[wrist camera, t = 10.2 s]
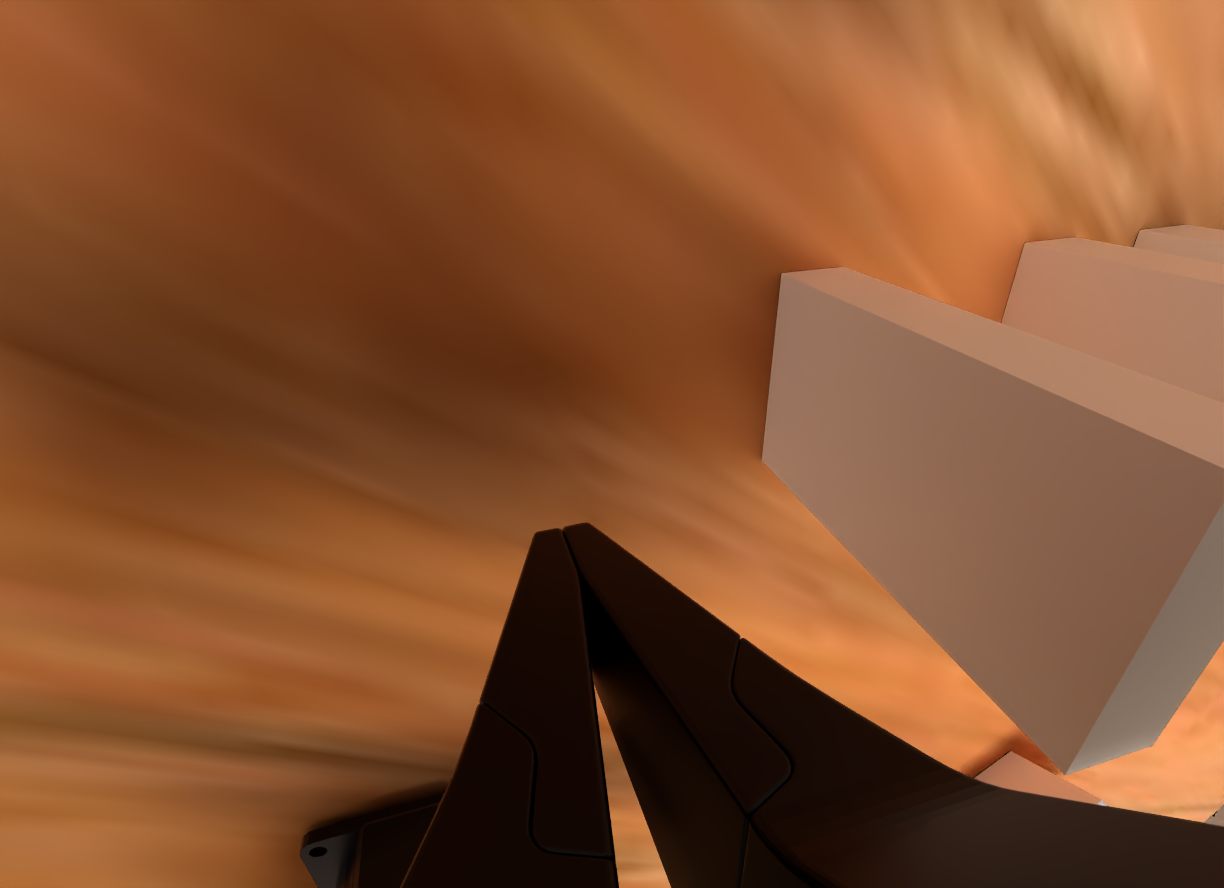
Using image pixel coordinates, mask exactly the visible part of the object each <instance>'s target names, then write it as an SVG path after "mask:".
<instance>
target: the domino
mask: <svg viewBox="0 0 1224 888" xmlns="http://www.w3.org/2000/svg"><path fill="white" fill-rule="evenodd" d="M762 462H763V463H764V464H765V465H766V466H767V467H768V468H769V469H770V470H771V471H772V472H773V473H774V474H775V475H776V476H777V477H778V478H779V479H780V480H781V481H782V482H783V484H784V485H785V486H786V487H787V488H788V489H789V490H790V491H791V492H792V493H793V494H794V495H795V496H796V497H797V498H798V499H799V500H800V501H801V502H802V503H803V504H804V505H805V506H806V507H807V508H808V509H809V510H810V512H811V513H812V514H813V515H814V516H815V517H816V518H817V519H818V520H819V521H820V522H821V523H822V524H823V525H824V526H825V527H826V528H827V529H828V530H829V531H830V532H831V533H832V534H833V535H834V536H835V537H836V538H837V540H838V541H839V542H840V543H841V544H842V545H843V546H844V547H845V548H846V549H847V550H848V551H849V552H850V553H851V554H852V555H853V556H854V557H855V558H856V559H857V560H858V561H859V562H860V563H861V564H862V565H863V567H864V568H865V569H866V570H867V571H868V572H869V573H870V574H871V575H872V576H873V577H874V578H875V579H876V580H877V581H878V582H879V583H880V584H881V585H882V586H883V587H884V588H885V589H886V590H887V591H888V592H889V593H890V595H891V596H892V597H893V598H894V599H895V600H896V601H897V602H898V603H899V604H900V605H901V606H902V607H903V608H904V609H905V610H906V611H907V612H908V613H909V614H910V615H911V616H912V617H913V618H914V619H915V620H916V621H917V623H918V624H919V625H920V626H921V627H922V628H923V629H924V630H925V631H926V632H927V633H928V634H929V635H930V636H931V637H932V638H933V639H934V640H935V641H936V642H937V643H938V644H939V645H940V646H941V647H942V648H943V649H944V651H945V652H946V653H947V654H948V655H949V656H950V657H951V658H952V659H953V660H954V661H955V662H956V663H957V664H958V665H959V666H960V667H961V668H962V669H963V670H964V671H965V672H966V673H967V674H968V675H969V676H970V677H971V679H972V680H973V681H974V682H975V683H976V684H977V685H978V686H979V687H980V688H981V689H982V690H983V691H984V692H985V693H986V694H987V695H988V696H989V697H990V698H991V699H992V700H993V701H994V702H995V703H996V704H997V706H998V707H999V708H1000V709H1001V710H1002V711H1003V712H1004V713H1005V714H1006V715H1007V716H1008V717H1009V718H1010V719H1011V720H1012V721H1013V722H1014V723H1015V724H1016V725H1017V726H1018V727H1019V728H1020V729H1021V730H1022V731H1023V732H1024V734H1025V735H1026V736H1027V737H1028V738H1029V739H1030V740H1031V741H1032V742H1033V743H1034V744H1035V745H1036V746H1037V747H1038V748H1039V749H1040V750H1041V751H1042V752H1043V753H1044V754H1045V755H1046V756H1047V757H1048V758H1049V759H1050V760H1051V762H1052V763H1053V764H1054V765H1055V766H1056V767H1057V768H1058V769H1059V770H1060V771H1061V772H1062V773H1063V774H1064V775H1067V774H1070V773H1073V772H1076V771H1079V770H1082V769H1085V768H1088V767H1091V766H1094V765H1097V764H1100V763H1103V762H1106V761H1108V760H1111V759H1114V758H1117V757H1120V756H1123V755H1126V754H1129V753H1132V752H1135V751H1138V750H1141V749H1144V748H1147V747H1150V746H1153V744H1154V743H1155V741H1156V740H1157V738H1158V737H1159V736H1160V734H1161V733H1162V731H1163V730H1164V728H1165V727H1166V725H1167V724H1168V722H1169V721H1170V719H1171V718H1172V716H1173V715H1174V713H1175V712H1176V710H1177V709H1178V707H1179V706H1180V704H1181V703H1182V701H1183V700H1184V699H1185V697H1186V696H1187V694H1188V693H1189V691H1190V690H1191V688H1192V687H1193V685H1194V684H1195V682H1196V681H1197V679H1198V678H1199V676H1200V675H1201V673H1202V672H1203V670H1204V669H1205V667H1206V666H1207V664H1208V663H1209V662H1210V660H1211V659H1212V657H1213V656H1214V654H1215V653H1216V651H1217V650H1218V648H1219V647H1220V645H1221V644H1222V642H1223V641H1224V403H1222V402H1219V401H1216V400H1213V399H1211V398H1208V397H1205V396H1202V395H1200V394H1197V393H1194V392H1191V391H1188V390H1186V389H1183V388H1180V387H1177V386H1174V385H1172V384H1169V383H1166V382H1163V381H1161V380H1158V379H1155V378H1152V377H1149V376H1147V375H1144V374H1141V373H1138V372H1135V371H1133V370H1130V369H1127V368H1124V367H1122V366H1119V365H1116V364H1113V363H1110V362H1108V361H1105V360H1102V359H1099V358H1096V357H1094V356H1091V355H1088V354H1085V353H1083V352H1080V351H1077V350H1074V349H1071V348H1069V347H1066V346H1063V345H1060V344H1057V343H1055V342H1052V341H1049V340H1046V339H1044V338H1041V337H1038V336H1035V335H1032V334H1030V333H1027V332H1024V331H1021V330H1018V329H1016V328H1013V327H1010V326H1007V325H1005V324H1002V323H999V322H996V321H993V320H991V319H988V318H985V317H982V316H979V315H977V314H974V313H971V312H968V311H966V310H963V309H960V308H957V307H954V306H952V305H949V304H946V303H943V302H940V301H938V300H935V299H932V298H929V297H927V296H924V295H921V294H918V293H915V292H913V291H910V290H907V289H904V288H902V287H899V286H896V285H893V284H890V283H888V282H885V281H882V280H879V279H876V278H874V277H871V276H868V275H865V274H863V273H860V272H857V271H854V270H851V269H849V268H846V267H835V268H826V269H816V270H807V271H797V272H788V273H781V282H780V292H779V301H778V311H777V320H776V330H775V339H774V348H773V358H772V367H771V377H770V386H769V396H768V405H767V414H766V424H765V433H764V443H763V452H762Z"/></svg>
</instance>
